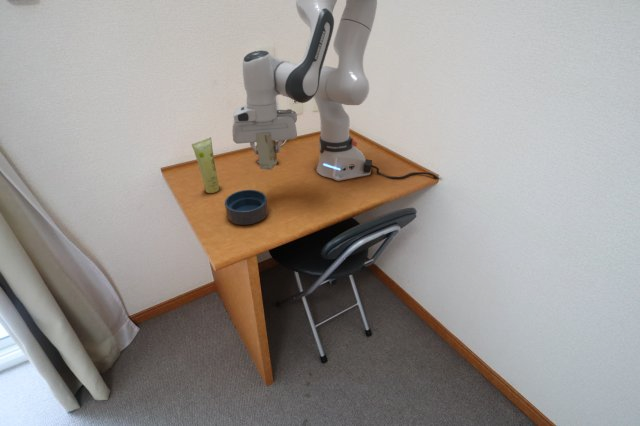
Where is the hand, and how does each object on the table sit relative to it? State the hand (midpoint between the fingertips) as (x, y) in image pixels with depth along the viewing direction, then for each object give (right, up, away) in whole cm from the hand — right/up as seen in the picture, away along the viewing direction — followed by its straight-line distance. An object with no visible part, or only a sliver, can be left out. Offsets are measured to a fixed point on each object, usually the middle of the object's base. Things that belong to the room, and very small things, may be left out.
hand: (267, 152), depth 104 cm
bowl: (-6, -20, 0) cm, 21 cm away
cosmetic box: (0, -4, +3) cm, 5 cm away
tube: (-23, -12, +13) cm, 28 cm away
